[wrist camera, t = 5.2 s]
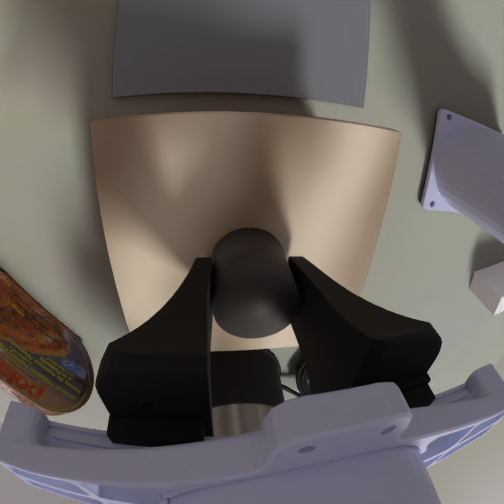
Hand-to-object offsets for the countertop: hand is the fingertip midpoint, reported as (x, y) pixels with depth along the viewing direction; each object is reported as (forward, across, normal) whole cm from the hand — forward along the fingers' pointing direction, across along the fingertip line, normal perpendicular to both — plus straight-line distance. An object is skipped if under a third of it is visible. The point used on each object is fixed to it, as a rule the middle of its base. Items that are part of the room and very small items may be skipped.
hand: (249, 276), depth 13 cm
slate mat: (+7, 0, -15) cm, 17 cm away
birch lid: (+2, 0, 0) cm, 2 cm away
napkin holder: (+8, -32, +7) cm, 34 cm away
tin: (+8, +18, +9) cm, 22 cm away
